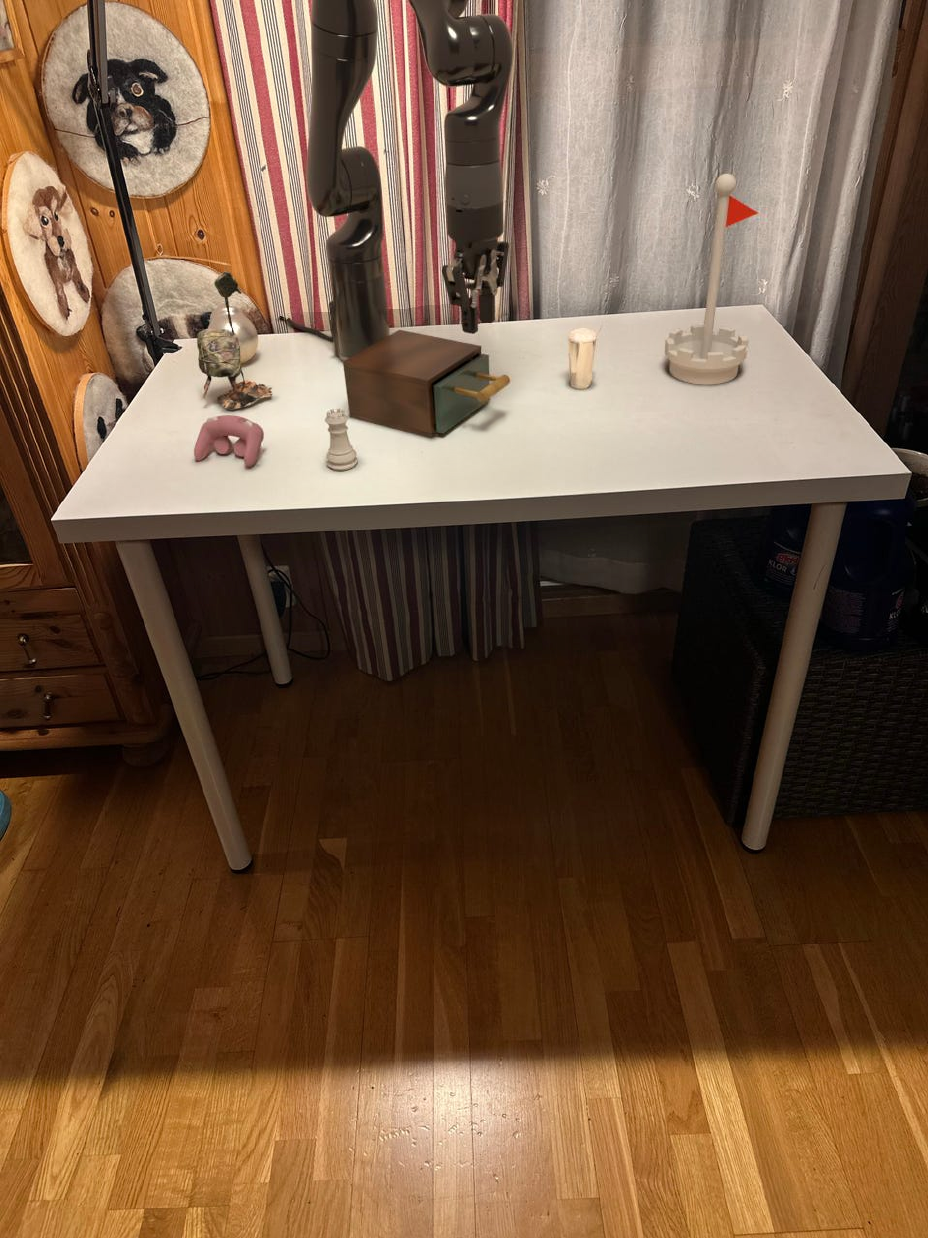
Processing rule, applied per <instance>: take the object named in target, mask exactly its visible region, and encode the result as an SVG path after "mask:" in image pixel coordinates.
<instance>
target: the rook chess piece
mask: <svg viewBox="0 0 928 1238" xmlns="http://www.w3.org/2000/svg"><path fill="white" fill-rule="evenodd" d="M348 420H349V416H348V415H347V414H346V411H345V409H341V408H336V411H335V409H334V408H331V409H330V410H329V411H326V416H325V418H324V423H326V424H327V425H328V428H327V432H328V433H329V441H330V442H329V448H328V452H327V453H326V460H327V461H326V465H327V466H328V467H329V468H330V469H331V470H333V471H338V472H342V471H348V470H352V469H353V468H355V466H356V465H357V463H358V462H359V458H358V457H357V451H356V450H355V449H354V448H353V445H352V444H351V442H350V438H349V435H348V429H349V426H347V422H348Z"/></svg>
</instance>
